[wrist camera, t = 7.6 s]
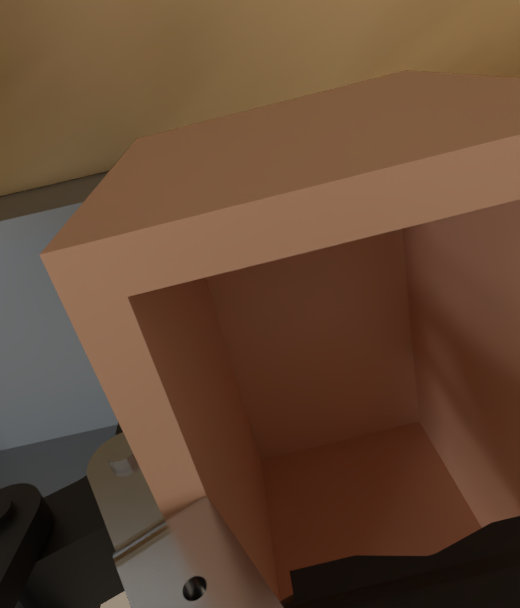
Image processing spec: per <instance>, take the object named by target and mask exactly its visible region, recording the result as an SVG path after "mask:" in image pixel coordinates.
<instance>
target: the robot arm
mask: <svg viewBox="0 0 520 608" xmlns="http://www.w3.org/2000/svg"><path fill="white" fill-rule="evenodd" d="M290 577H291V583H292V589H293V594H292V595H290V596H288V597H287V598H285V599H283V600H282V601H279V600H278V598H277V597H276V596H275V594H274V593H273V591H272V590H271V588H270V587H269V585H268V584H267V582H266V581H265V579H264V578H263V576H262V575H261V574H260V572H259V571H258V569H257V568H256V566H255V565H254V563H253V562H252V560H251V559H250V557H249V556H248V554H247V553H246V552H245V550H244V549H243V547H242V546H241V544H240V543H239V541H238V540H237V538H236V537H235V535H234V534H233V532H232V531H231V530H230V528H229V527H228V525H227V524H226V522H225V521H224V519H223V518H222V516H221V515H220V513H219V512H218V510H217V509H216V508H215V506H214V505H213V503H212V502H211V500H210V499H209V498H208V497H207V496H204V497H202V498H200V499H198V500H196V501H194V502H193V503H191V504H189V505H187V506H186V507H184V508H183V509H181V510H180V511H178V512H176V513H175V514H173V515H172V516H170V517H169V518H167V519H165V520H164V518H163V515H162V513H161V511H160V509H159V507H158V505H157V503H156V501H155V499H154V496H153V494H152V492H151V490H150V488H149V486H148V484H147V482H146V479H145V477H144V475H143V473H142V471H141V469H140V467H139V465H138V463H137V460H136V458H135V456H134V454H133V452H132V450H131V448H130V446H129V444H128V441H127V439H126V437H125V435H124V433H123V431H122V429H121V427H120V424H119V422H118V425H117V429H116V434H115V436H114V437H112V438H110V439H109V440H107V441H106V442H105V443H103V444H102V445H101V446H100V447H99V448H98V449H97V450H96V451H95V453H94V454H93V455H92V457H91V458H90V461H89V463H88V466H87V475H86V476H85V477H83V478H82V479H80V480H78V481H76V482H74V483H72V484H70V485H68V486H66V487H64V488H62V489H60V490H58V491H56V492H54V493H52V494H50V495H48V496H46V497H44V498H43V496H42V495H41V493H40V492H39V490H38V489H37V488H36V487H35V486H34V485H31V484H27V483H18V484H13V485H9V486H6V487H4V488H1V489H0V608H100V605H101V604H102V603H104V602H106V601H108V600H109V599H111V598H113V597H114V596H116V595H118V594H120V593H121V592H123V591H125V593H126V595H127V598H128V601H129V603H130V606H131V608H520V516H517V517H513V518H509V519H504V520H500V521H496V522H492V523H490V524H488V525H486V526H485V527H483V528H481V529H479V530H477V531H476V532H474V533H472V534H470V535H468V536H466V537H465V538H463V539H461V540H459V541H457V542H456V543H454V544H452V545H450V546H448V547H447V548H445V549H443V550H441V551H439V552H438V553H435V554H433V555H429V556H373V555H354V556H350V557H346V558H342V559H338V560H334V561H329V562H325V563H321V564H317V565H313V566H309V567H304V568H300V569H296V570H292V571H290Z"/></svg>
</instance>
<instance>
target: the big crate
mask: <svg viewBox="0 0 520 608" xmlns="http://www.w3.org/2000/svg"><path fill="white" fill-rule="evenodd" d="M108 172H109V171H108ZM108 172H104V173H99V174H95V175H91V176H86V177H82V178H78V179H74V180H69V181H65V182H61V183H56V184H52V185H48V186H43V187H39V188H35V189H30V190H26V191H22V192H18V193H13V194H9V195H5V196H0V489H1V488H4V487H6V486H9V485H13V484H18V483H27V484H31V485H34V486H35V487H36V488H37V489H38V490H39V492H40V493H41V495H42V496H43V498H44V497H46V496H48V495H50V494H52V493H54V492H56V491H58V490H60V489H62V488H64V487H66V486H68V485H70V484H72V483H74V482H76V481H78V480H80V479H82V478H83V477H85V476H86V475H87V466H88V463H89V461H90V458H91V457H92V455H93V454H94V453H95V451H96V450H97V449H98V448H99V447H100V446H101V445H102V444H103V443H105V442H106V441H107V440H109V439H110V438H112V437H114V436H115V434H116V429H117V425H118V420H117V418H116V416H115V414H114V412H113V410H112V408H111V405H110V403H109V401H108V399H107V397H106V395H105V393H104V391H103V389H102V386H101V384H100V382H99V380H98V378H97V376H96V374H95V372H94V369H93V367H92V365H91V363H90V361H89V359H88V357H87V355H86V353H85V350H84V348H83V346H82V344H81V342H80V340H79V338H78V336H77V334H76V331H75V329H74V327H73V325H72V323H71V321H70V319H69V317H68V315H67V312H66V310H65V308H64V306H63V304H62V302H61V300H60V298H59V295H58V293H57V291H56V289H55V287H54V285H53V283H52V281H51V279H50V276H49V274H48V272H47V270H46V268H45V266H44V264H43V262H42V260H41V257H40V253H41V252H42V251H43V250H44V249H45V247H46V246H47V245H48V244H49V243H50V241H51V240H52V239H53V238H54V237H55V235H56V234H57V233H58V232H59V231H60V230H61V228H62V227H63V226H64V225H65V224H66V222H67V221H68V220H69V219H70V218H71V216H72V215H73V214H74V213H75V212H76V210H77V209H78V208H79V207H80V206H81V205H82V203H83V202H84V201H85V200H86V199H87V197H88V196H89V195H90V194H91V193H92V191H93V190H94V189H95V188H96V187H97V185H98V184H99V183H100V182H101V181H102V180H103V178H104V177H105V176H106V175H107V174H108Z"/></svg>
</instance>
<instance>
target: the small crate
mask: <svg viewBox="0 0 520 608" xmlns="http://www.w3.org/2000/svg"><path fill="white" fill-rule="evenodd" d="M40 257H41V260H42V262H43V264H44V266H45V268H46V270H47V272H48V274H49V276H50V279H51V281H52V283H53V285H54V287H55V289H56V291H57V293H58V295H59V298H60V300H61V302H62V304H63V306H64V308H65V310H66V312H67V315H68V317H69V319H70V321H71V323H72V325H73V327H74V329H75V331H76V334H77V336H78V338H79V340H80V342H81V344H82V346H83V348H84V350H85V353H86V355H87V357H88V359H89V361H90V363H91V365H92V367H93V369H94V372H95V374H96V376H97V378H98V380H99V382H100V384H101V386H102V389H103V391H104V393H105V395H106V397H107V399H108V401H109V403H110V405H111V408H112V410H113V412H114V414H115V416H116V418H117V420H118V422H119V424H120V427H121V429H122V431H123V433H124V435H125V437H126V439H127V441H128V444H129V446H130V448H131V450H132V452H133V454H134V456H135V458H136V460H137V463H138V465H139V467H140V469H141V471H142V473H143V475H144V477H145V479H146V482H147V484H148V486H149V488H150V490H151V492H152V494H153V496H154V499H155V501H156V503H157V505H158V507H159V509H160V511H161V513H162V515H163V518H164V520H165V519H167V518H169V517H170V516H172V515H173V514H175V513H176V512H178V511H180V510H181V509H183V508H184V507H186V506H187V505H189V504H191V503H193V502H194V501H196V500H198V499H200V498H202V497H204V496H207V497H208V498H209V499H210V500H211V502H212V503H213V505H214V506H215V508H216V509H217V510H218V512H219V513H220V515H221V516H222V518H223V519H224V521H225V522H226V524H227V525H228V527H229V528H230V530H231V531H232V532H233V534H234V535H235V537H236V538H237V540H238V541H239V543H240V544H241V546H242V547H243V549H244V550H245V552H246V553H247V554H248V556H249V557H250V559H251V560H252V562H253V563H254V565H255V566H256V568H257V569H258V571H259V572H260V574H261V575H262V576H263V578H264V579H265V581H266V582H267V584H268V585H269V587H270V588H271V590H272V591H273V593H274V594H275V596H276V597H277V598H278V600H279V601H282V600H283V599H285V598H287V597H288V596H290V595H292V594H293V589H292V583H291V577H290V571H292V570H296V569H300V568H304V567H309V566H313V565H317V564H321V563H325V562H329V561H334V560H338V559H342V558H346V557H350V556H354V555H373V556H429V555H433V554H435V553H438V552H439V551H441V550H443V549H445V548H447V547H448V546H450V545H452V544H454V543H456V542H457V541H459V540H461V539H463V538H465V537H466V536H468V535H470V534H472V533H474V532H476V531H477V530H479V529H481V528H483V527H485V526H486V525H488V524H490V523H492V522H496V521H500V520H504V519H509V518H513V517H517V516H520V78H515V77H500V76H484V75H469V74H454V73H438V72H423V71H408V70H406V71H402V72H398V73H394V74H390V75H386V76H382V77H378V78H374V79H370V80H366V81H362V82H358V83H354V84H350V85H346V86H343V87H339V88H335V89H331V90H327V91H323V92H319V93H315V94H311V95H307V96H303V97H299V98H295V99H291V100H287V101H283V102H279V103H275V104H271V105H267V106H263V107H259V108H255V109H252V110H248V111H244V112H240V113H236V114H232V115H228V116H224V117H220V118H216V119H212V120H208V121H204V122H200V123H196V124H192V125H188V126H184V127H180V128H176V129H172V130H168V131H164V132H161V133H157V134H153V135H149V136H145V137H141V138H137V139H136V140H135V141H134V143H133V144H132V145H131V146H130V147H129V149H128V150H127V151H126V152H125V153H124V155H123V156H122V157H121V158H120V159H119V160H118V162H117V163H116V164H115V165H114V166H113V168H112V169H111V170H110V171H109V172H108V174H107V175H106V176H105V177H104V178H103V180H102V181H101V182H100V183H99V184H98V185H97V187H96V188H95V189H94V190H93V191H92V193H91V194H90V195H89V196H88V197H87V199H86V200H85V201H84V202H83V203H82V205H81V206H80V207H79V208H78V209H77V210H76V212H75V213H74V214H73V215H72V216H71V218H70V219H69V220H68V221H67V222H66V224H65V225H64V226H63V227H62V228H61V230H60V231H59V232H58V233H57V234H56V235H55V237H54V238H53V239H52V240H51V241H50V243H49V244H48V245H47V246H46V247H45V249H44V250H43V251H42V252H41V253H40Z"/></svg>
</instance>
